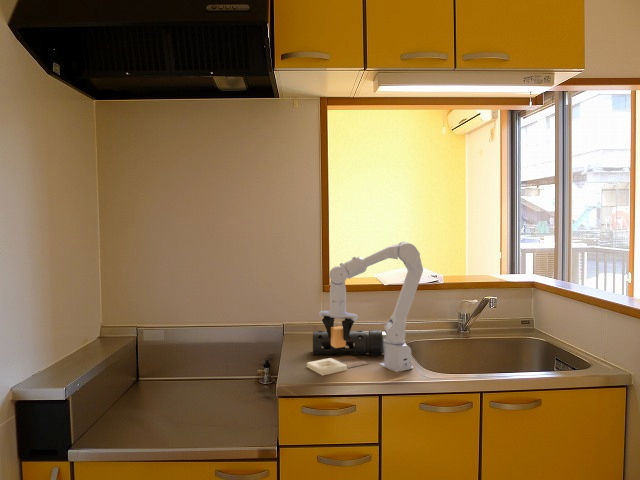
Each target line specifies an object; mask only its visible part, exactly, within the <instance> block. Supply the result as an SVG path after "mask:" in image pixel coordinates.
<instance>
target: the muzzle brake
mask: <svg viewBox="0 0 640 480" xmlns="http://www.w3.org/2000/svg"><path fill="white" fill-rule="evenodd" d="M386 336H387V334H386V333H385V331H382V330H381V329H370V330H368V331H366V330H350V333H349V337H348V340H346V347H340V348H335V347H333V346H331V338H329V337H328V333H327V330H313V331H312V355H313V356H322V355H323V356H326V355H327V356H328V355H330V356H331V355H332V356H334V355H335V356H346V355H352V356H354V355H356V356H358V355H362V356H363V355H365V356H366V355H367V354H369V355H371V356H382V355H384V339H385V338H386Z"/></svg>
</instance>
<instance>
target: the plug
mask: <svg viewBox="0 0 640 480" xmlns="http://www.w3.org/2000/svg"><path fill="white" fill-rule="evenodd" d="M331 346H333V347H335V348H340V347H345V348H347V346H346V341H345V340H344V338H343V325H337V326H333V327H331Z"/></svg>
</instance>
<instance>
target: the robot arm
mask: <svg viewBox="0 0 640 480" xmlns="http://www.w3.org/2000/svg"><path fill="white" fill-rule="evenodd" d="M387 259H392V260H401V262H403V264H404V265H403V266H404V267H405V268H406V270H407V272H406V275H405V278H404V281H403V284H402V286H401V290H400V292H399V295H398V299H397V301H396V305H395V307H394V311H393V312H392V314H391V315H390V317H389V319H388V320H387V322H386V323H385V324H384V328H383V330H384V332H385V333H386V334H387V336H386V338H385V339H384V353H383V355H384V357H383V362H380V363H379V364H378V365H379V366H381V367H384V368H386V369H388V370H390V371H393V372H396V373H398V372H403V371H407V370H412V369H414V366H413V365H412V348H411V347H410V346H409V345H407V343H406V340H405V338H406V327H407V323H408V322H407V321H408V320H407V319H408V316H409V313H410V311H411V307H412V305H413V300H414V299H415V295H416V293H417V289H418V287H419V284H420V280H421V277H422V275H423V272H424V267H423V264H422V258H421V253H420V252H419V249H418V248H417V247H416V245H414V244H413V243H411V242H410V243H409V242H407V241H401V242H399V243H396V244H392V245H389V246H387V247H385V248H382V249H380V250H378V251H376V252H375V253H372V254H370V255H368V256H366V257H361V256H357V257H356V256H353V257H351V259H350V260H348V261H346V262H344V263H343V262H340V263H339V265H336V266H333V267H332V268H331V269H330V271H329V273H328V276H329V279H330V282H329V286H330V287H329V310H320V311H319V312H318V314H319V315H318V316H319V317H320V318H322V319H321V320H322V321H321V322H322V323H323V325H324V327H325V331H327V333H328V337H329V338H331V327H334V324H335V323H334V322H335V319H340V320H342V321H341V326H342V327H343V338H344V340H345V341H346V340H348V337H349V333H350V331H352V330H351V329H352V327H353V325H354V323H355V322H356V321H358V320H359V316H358V314H356V313H352V312H348V311H347V287H346V280H347V279H349V280H351V279H352V278H354V277H357V276H358V275H361V274H364V273H365V272H366V271H367V268H368V267H370V266H373V265H375V264H378V263H380V262H383V261H386V260H387Z"/></svg>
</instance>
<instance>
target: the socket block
mask: <svg viewBox="0 0 640 480" xmlns="http://www.w3.org/2000/svg"><path fill="white" fill-rule="evenodd" d="M332 358H333V357H328V358H322V359H318V360H313V361H308V362H306V368H308V369H309V370H311V371H313V372H315V373H317V374H318V375H321V376H326V375H331V374H336V373H340V372H345V371H347V370H348V368H347V365H345V364H343V363H341V362H339V361H337V360H335V359H332Z"/></svg>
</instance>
